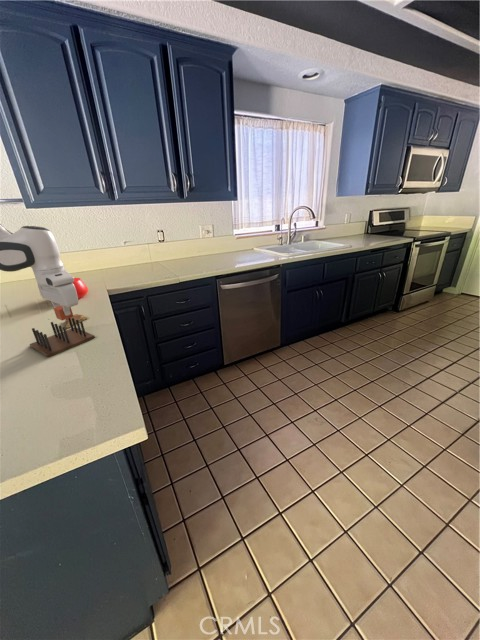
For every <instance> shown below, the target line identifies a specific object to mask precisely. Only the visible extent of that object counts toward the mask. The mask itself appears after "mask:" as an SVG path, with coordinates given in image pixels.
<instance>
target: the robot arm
mask: <svg viewBox="0 0 480 640" xmlns="http://www.w3.org/2000/svg"><path fill="white" fill-rule="evenodd" d="M28 268H31V269H32V272H33V275H34V277H35V280H36V283H37V288H38V291H39V294H40V296H41V298H42V299H44V300H47V301H50V302H51V304H52V306H53V308H56V307H59V306H62V307H63V314H64V315H66V316H68V315H70V314H71V313H70V307H71V308H72V307H75V306H78V304H79V299H78V296H77V292H76V289H75V286H74V284H73V283H72V282H74V278H75V277H74V276H73V275H72V274H70V273H69V272H68V271H67V269H66V268H65V265H64V262H62V260H61V251H60V249H59V245H58V243H57V241H56V238H55V236H54V234H53V232H52V231H51V230H50V229H48V228H46V227H43V226H38V225H37V226H36V225H23V226H21V227H20V228H19V229H18V230H16V231H15V232H14V233H13V232H11V231H10V230H8V229H7V228H6V227H5V226H3V225H2V224H1V223H0V271H3V272H6V273H7V272H9V273H10V272H11V273H12V272H13V273H14V272H19V271H21V270H24V269H28Z"/></svg>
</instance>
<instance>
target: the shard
mask: <svg viewBox="0 0 480 640" xmlns="http://www.w3.org/2000/svg"><path fill="white" fill-rule="evenodd" d="M73 316H74V317H71V322H72V318H74V320H75V323H76V320H78V321H79V323H80V321H82V322H83V321H85V320H87V319H88V317H87V316H86V315H83V314H79V313H75V314H73ZM64 321H65V322H64V324H65V325H64V327H65V329H69V328H71V326H70V323H69V320H68V319H65V320H64ZM72 325H73V322H72ZM76 325H77V323H76ZM73 326H74V325H73Z"/></svg>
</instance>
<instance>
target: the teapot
mask: <svg viewBox="0 0 480 640" xmlns="http://www.w3.org/2000/svg"><path fill="white" fill-rule="evenodd" d="M73 278H74V282H72V283H73V284H74V286H75V289H76V292H77V296H78V300H79V299H83V298H84V297H85V296H86V295H87V294H88V292H89V288H88V286H87V284H85V282H84V281H83V280H82V279H81V278H80V277H73Z"/></svg>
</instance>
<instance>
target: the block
mask: <svg viewBox="0 0 480 640" xmlns="http://www.w3.org/2000/svg"><path fill="white" fill-rule="evenodd" d="M53 311H54V314H55V317H56V319H57V320H60V321H66V319H68V318H71V317H74V316H73V315H74V314H73V310H72V307H70V313H71V314H70V315H68V316H66V315H64V314H63V307H62V306H59V307H56V308H55V307H53Z"/></svg>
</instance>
